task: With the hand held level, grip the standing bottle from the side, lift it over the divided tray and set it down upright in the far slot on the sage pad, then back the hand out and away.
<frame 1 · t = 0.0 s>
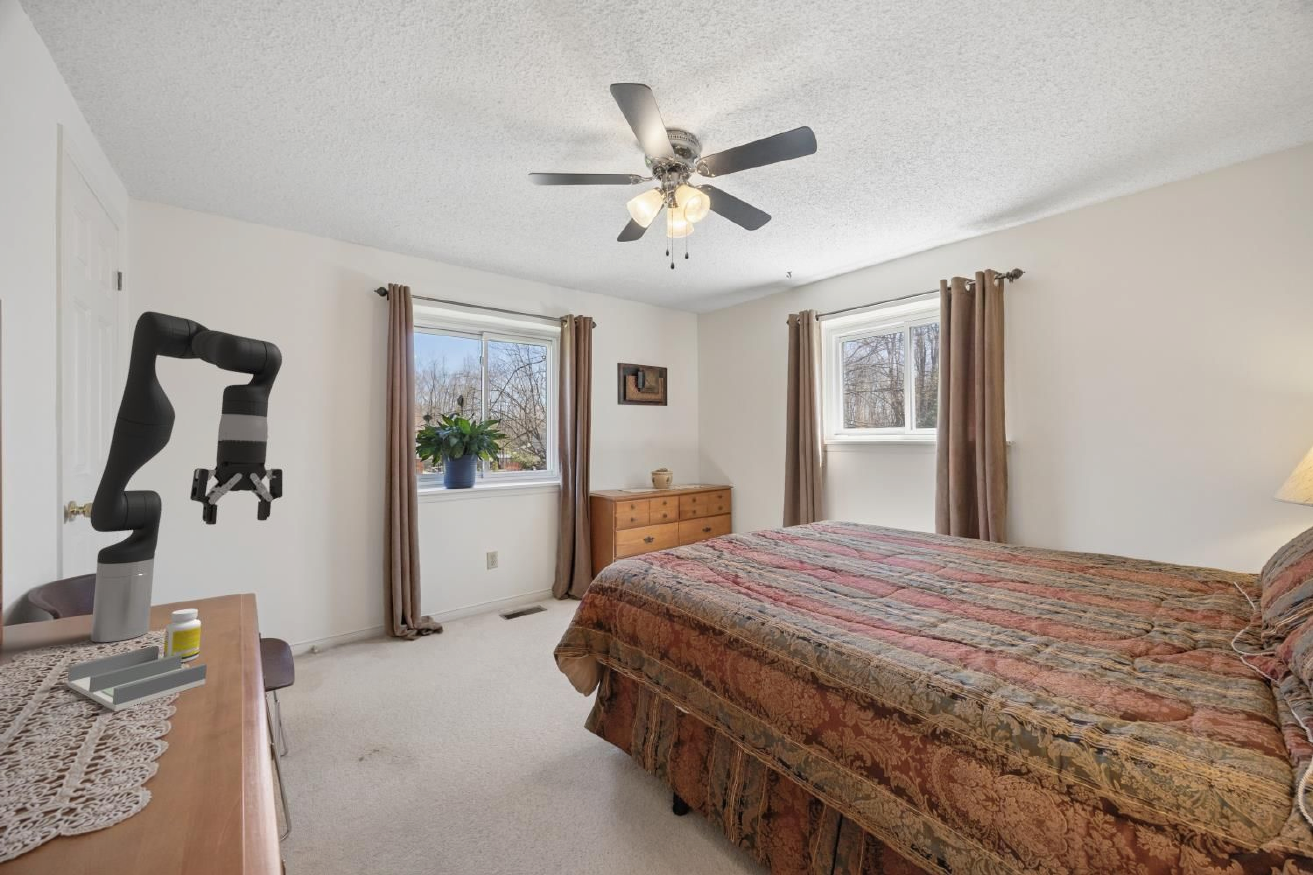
hand: (237, 522, 100), 29 cm above the table, tool pointing down, fingers open, 8 cm apart
divided tray: (137, 684, 93), on the table
supplement bottle: (181, 660, 105), on the table
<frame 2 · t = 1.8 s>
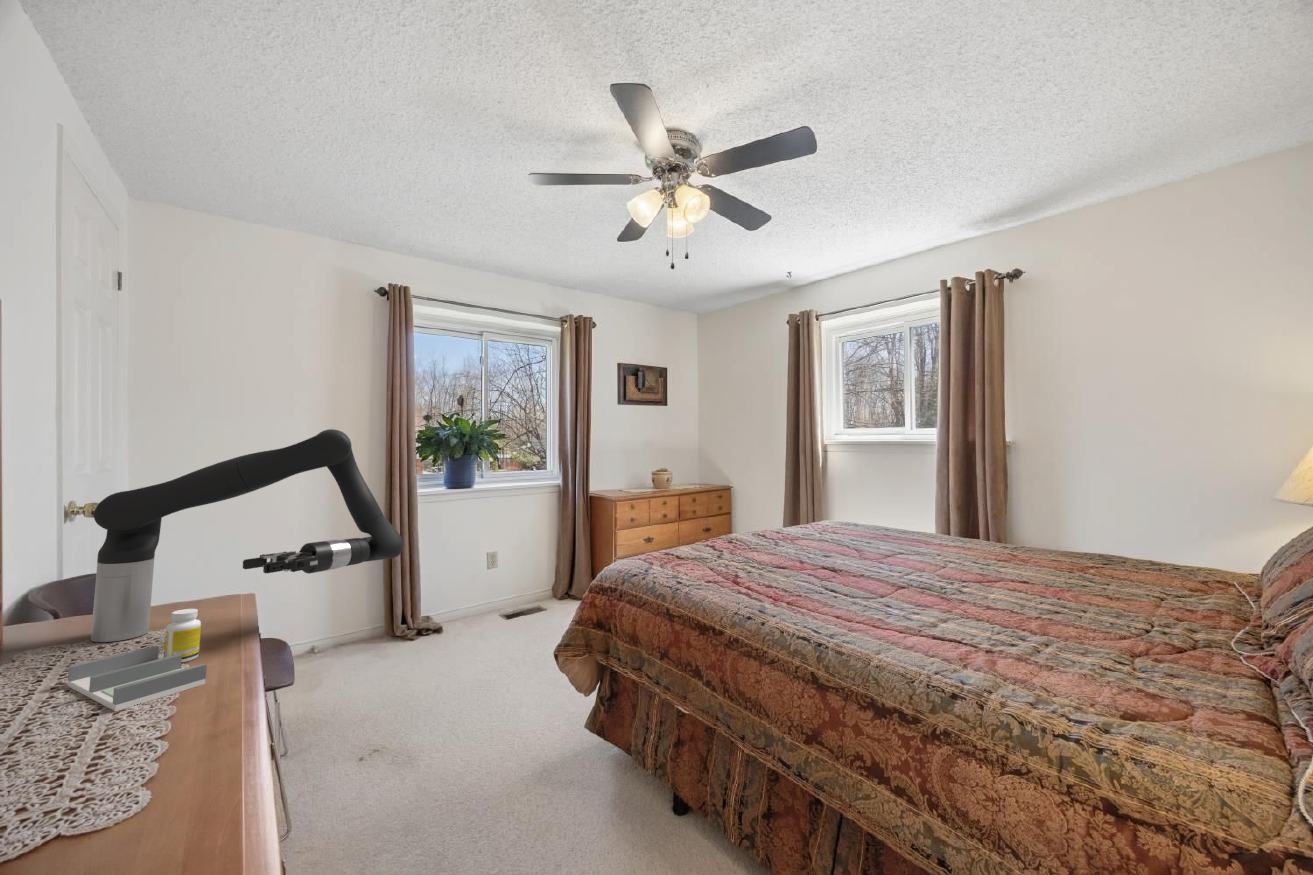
hand: (253, 566, 117), 17 cm above the table, tool horizontal, fingers open, 8 cm apart
nothing on the table moved.
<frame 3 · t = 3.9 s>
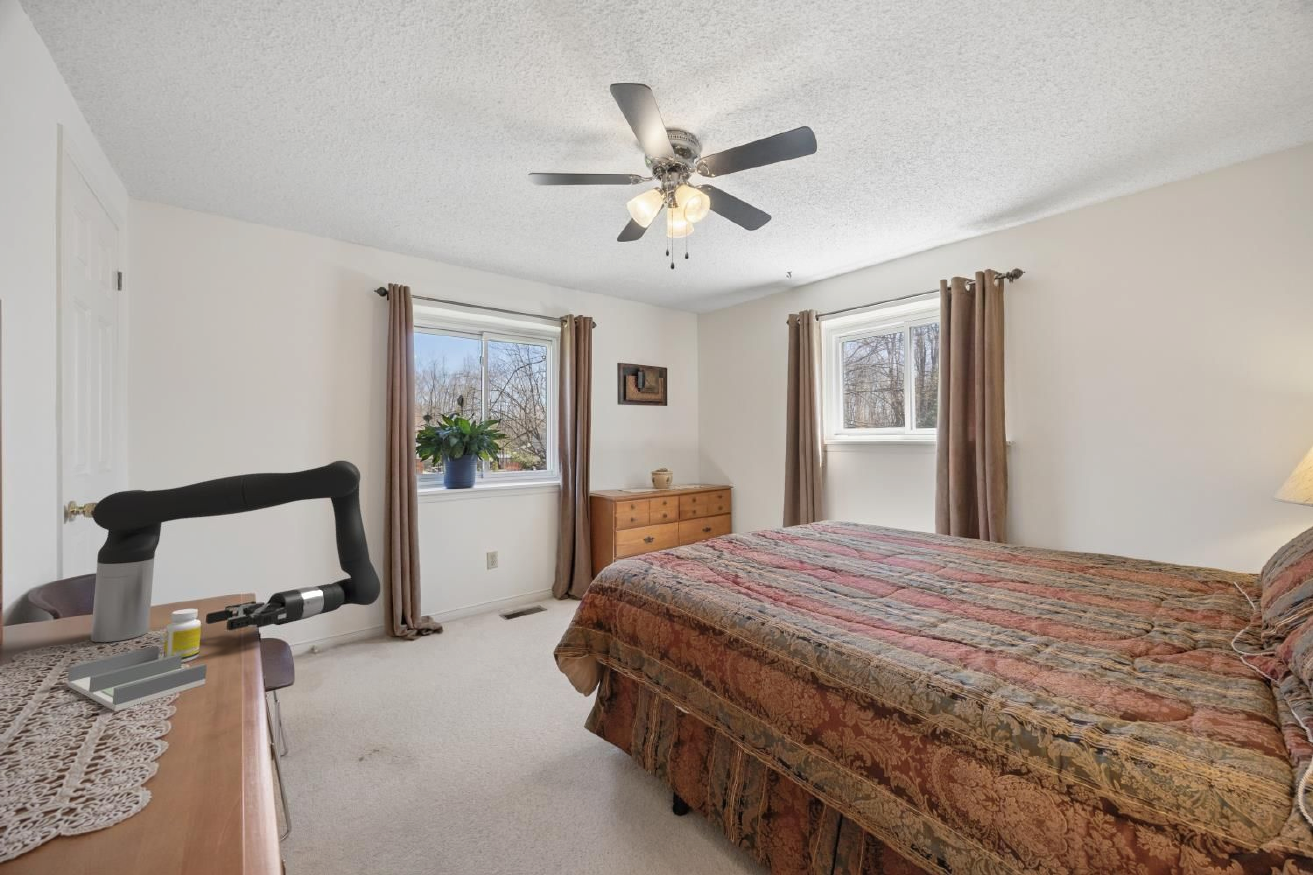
hand: (217, 622, 111), 6 cm above the table, tool horizontal, fingers open, 8 cm apart
nothing on the table moved.
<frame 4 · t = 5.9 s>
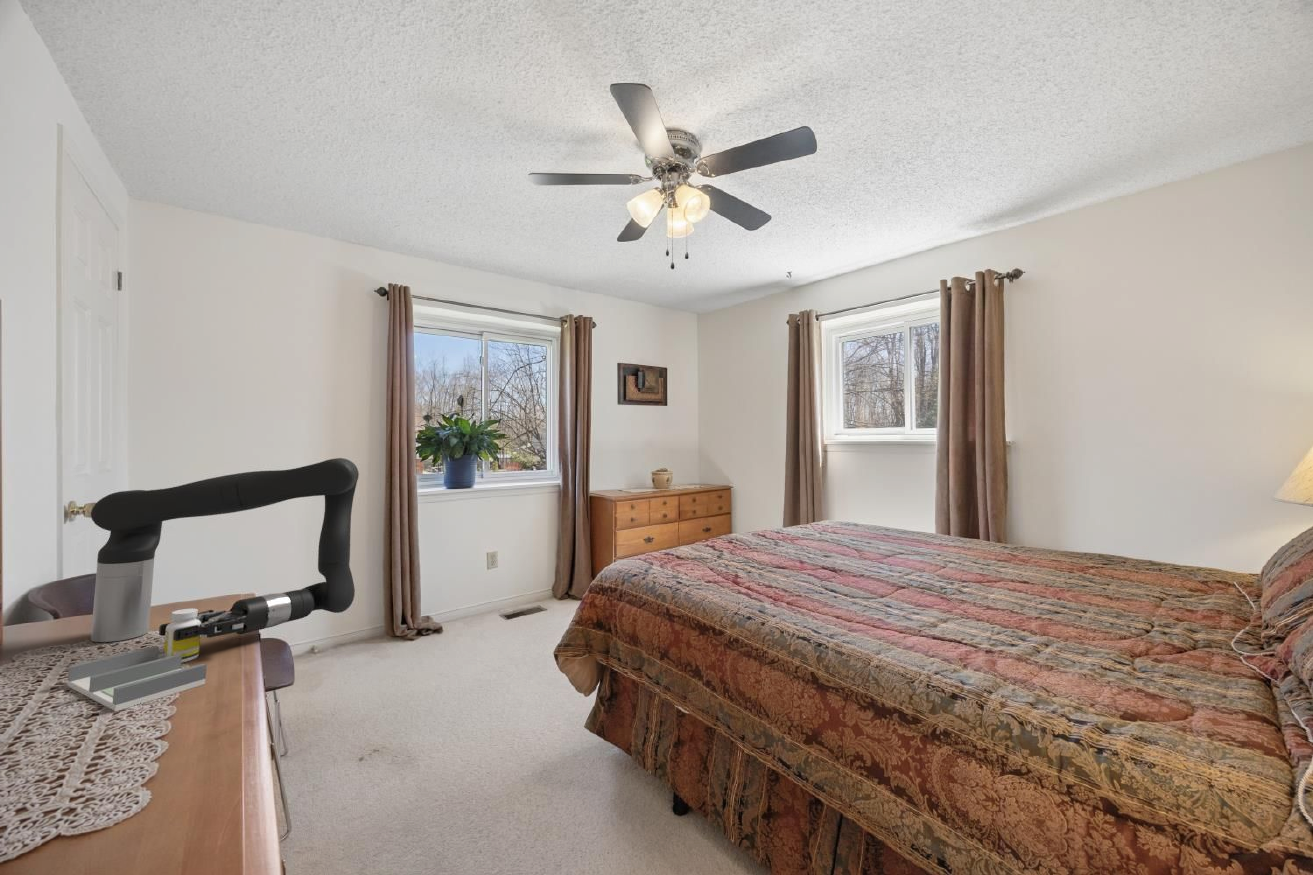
hand: (167, 632, 104), 6 cm above the table, tool horizontal, fingers closed on supplement bottle, 5 cm apart
supplement bottle: (181, 660, 105), on the table, touching gripper
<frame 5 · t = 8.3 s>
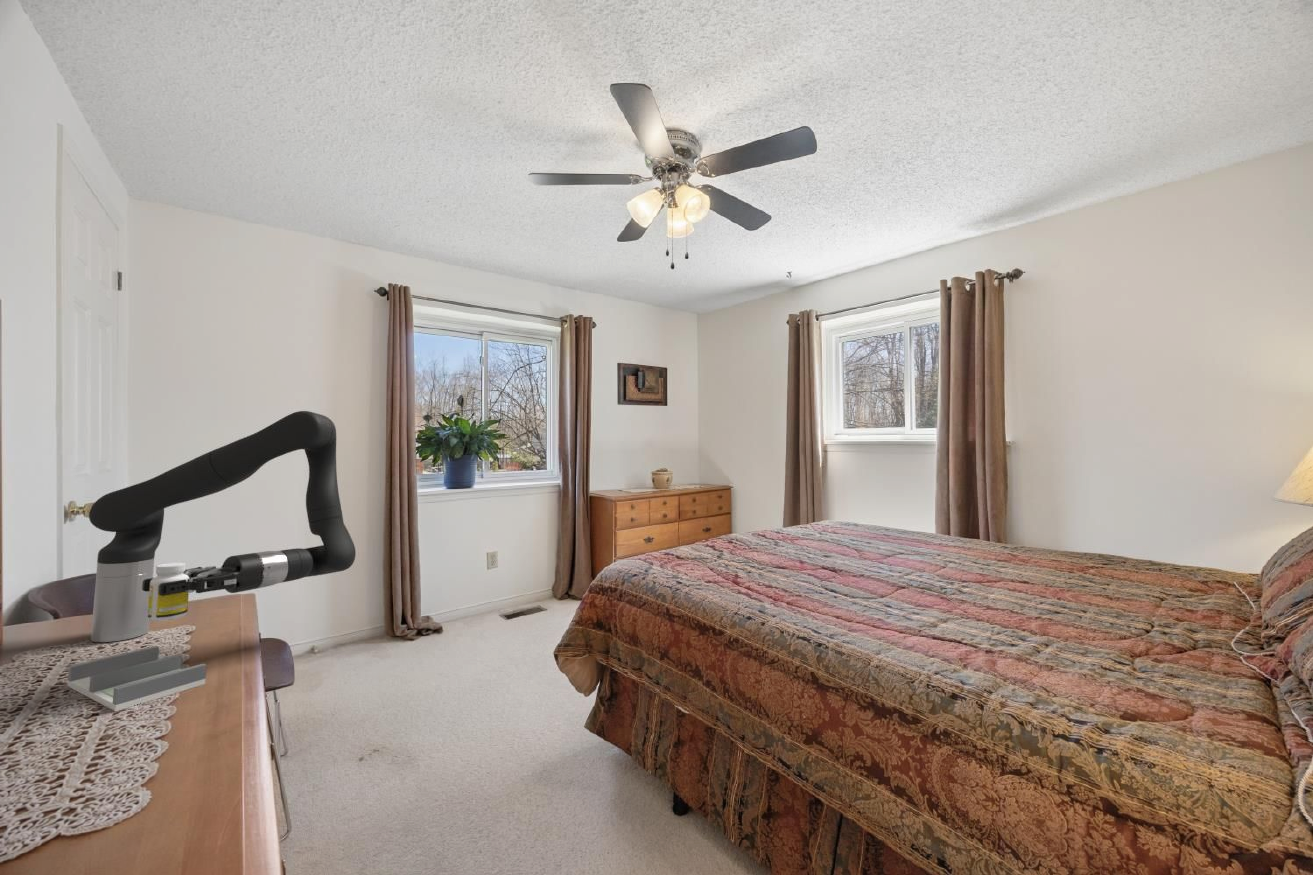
hand: (151, 587, 94), 18 cm above the table, tool horizontal, fingers closed on supplement bottle, 5 cm apart
supplement bottle: (167, 618, 96), point 11 cm above the table, touching gripper
when the fingers open (8 cm above the table, at t = 10.9 s): supplement bottle stays where it is, resting on divided tray.
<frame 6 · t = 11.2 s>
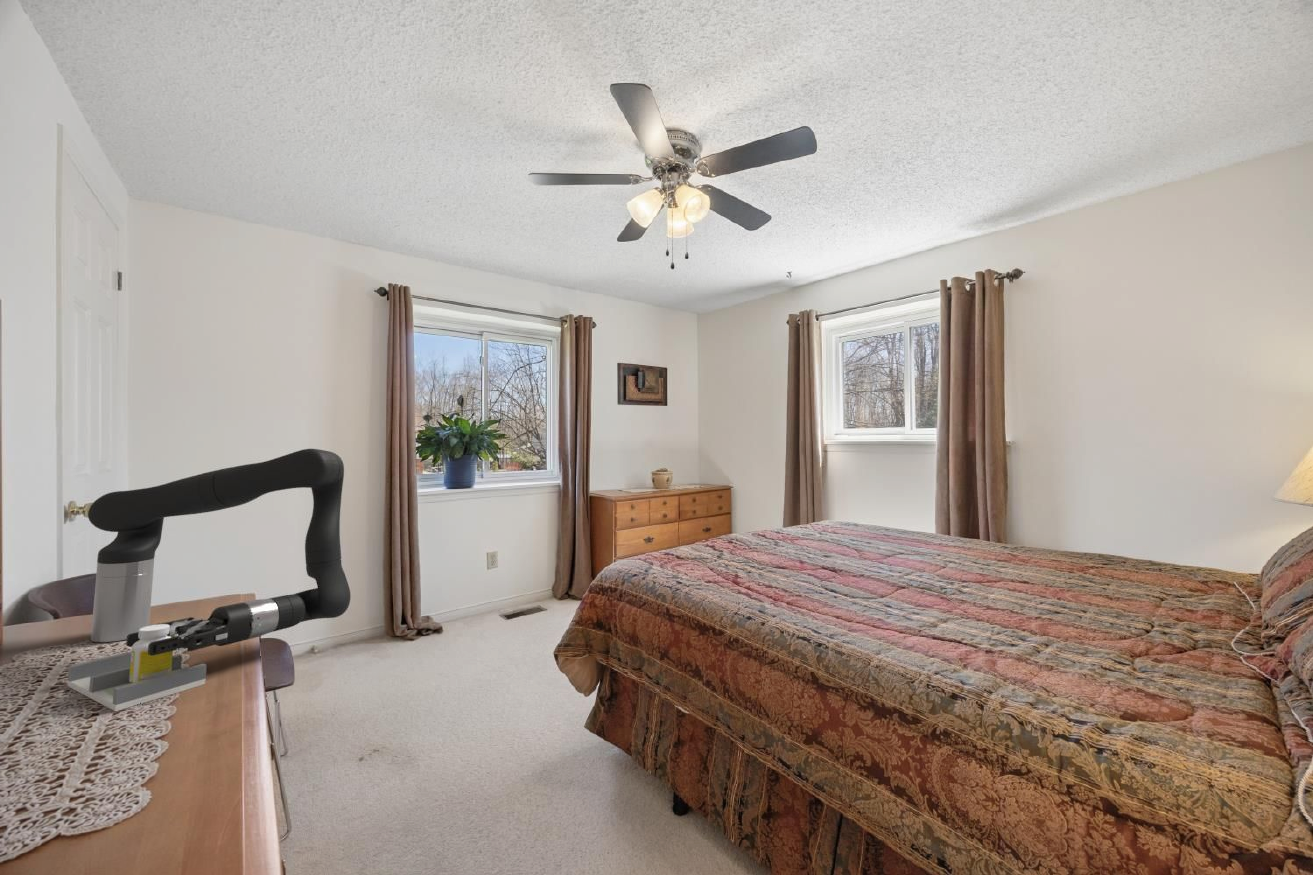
hand: (138, 645, 90), 8 cm above the table, tool horizontal, fingers open, 8 cm apart
supplement bottle: (150, 684, 92), point 1 cm above the table, touching divided tray
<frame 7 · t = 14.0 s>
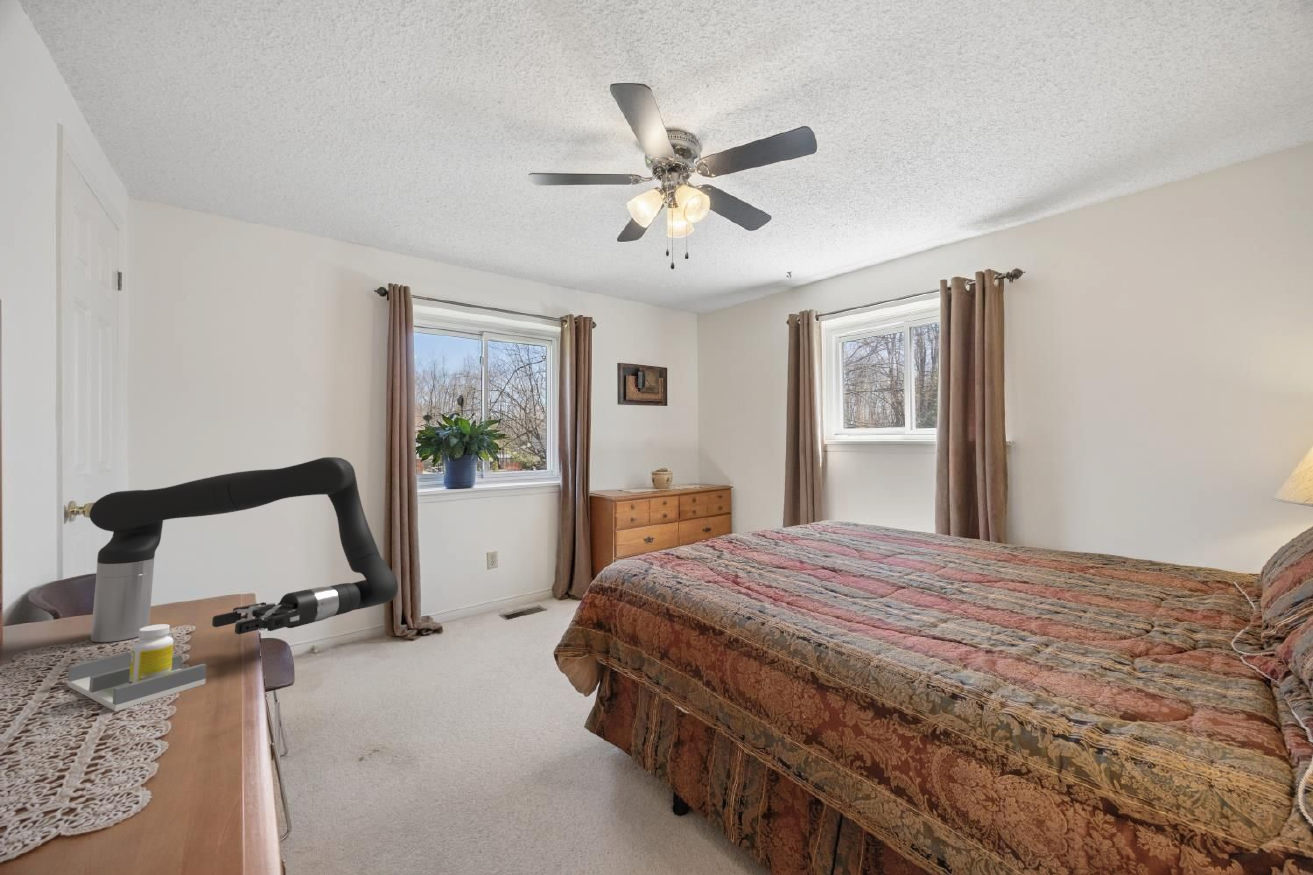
hand: (224, 625, 102), 9 cm above the table, tool horizontal, fingers open, 8 cm apart
nothing on the table moved.
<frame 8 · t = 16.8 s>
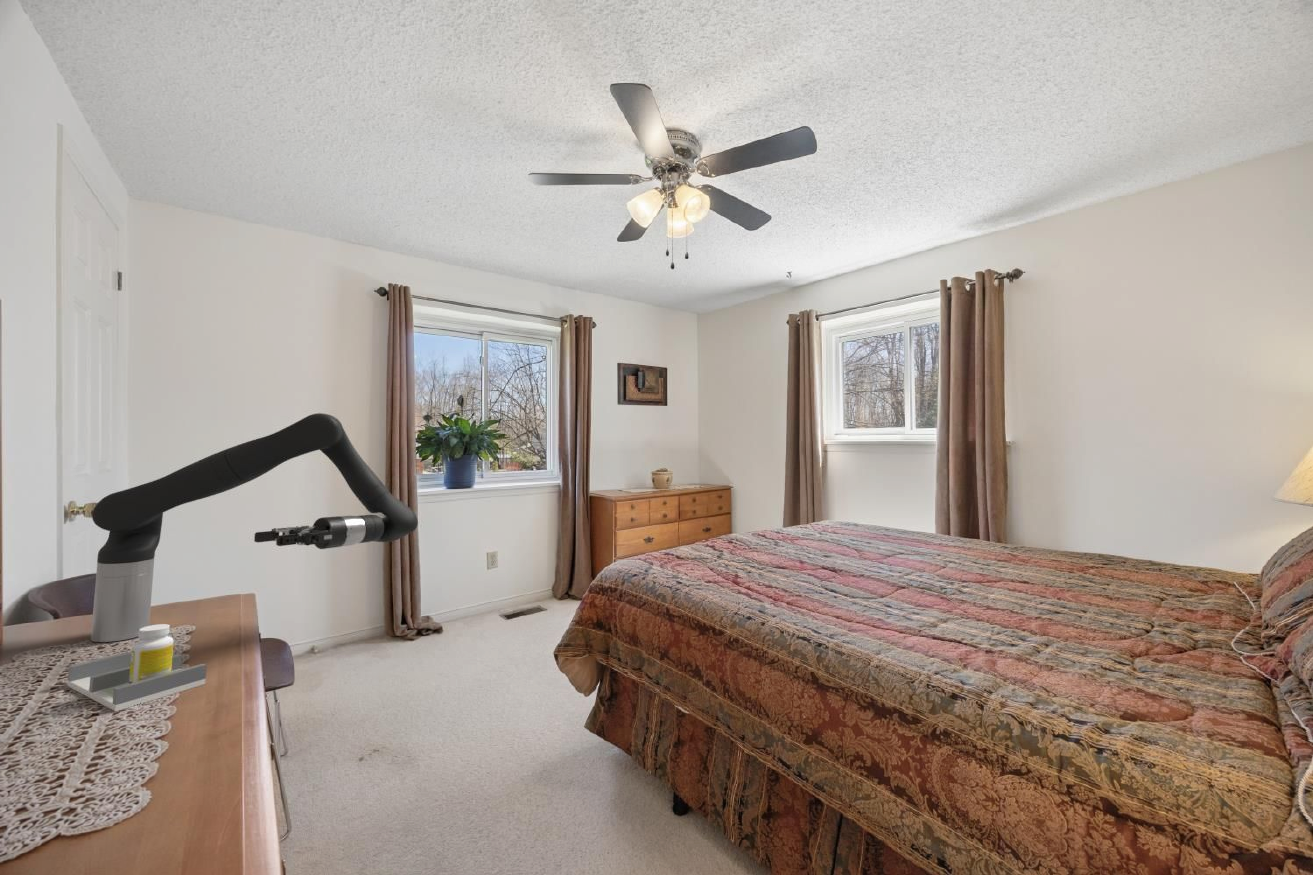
hand: (266, 539, 112), 24 cm above the table, tool horizontal, fingers open, 8 cm apart
nothing on the table moved.
at the end: supplement bottle inside the target area on the divided tray (0.2 cm from its centre), point 1.0 cm above the divided tray's base; supplement bottle tilted 0°; the gripper is holding nothing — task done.
